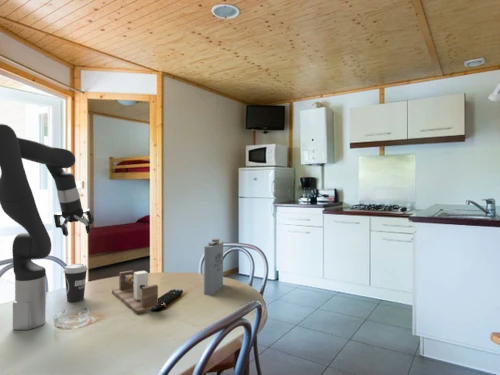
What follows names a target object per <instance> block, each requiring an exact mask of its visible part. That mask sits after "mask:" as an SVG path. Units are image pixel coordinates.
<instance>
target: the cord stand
mask: <svg viewBox="0 0 500 375" xmlns="http://www.w3.org/2000/svg"><path fill="white" fill-rule="evenodd" d="M134 272H135V271H134V270H133V269H131V270H126V271H120V272H119V273H118V274H119V275H118V276H119V280H118V282H119V283H118V285H119V286H118V288H115V289H111V293H112V294H113V296H115V297H116V298H117V299H118V300H119V301H120V302H121V303H123V304H124V305H125V306H126V307H127V308H128V309H130V310H131V311H132V312H134V313H135V314H136V315H141V314H146V313H149V312H152V311H151V309H152V308H153V307H156V306H155V305H158V299H159V285H157V284H151V285H148V286H146V287H144V286H143V285H140V300H136V299H135V298H134ZM141 289H142V296H141ZM161 305H164V306H165V307H166V303H165V302H163V304H161Z"/></svg>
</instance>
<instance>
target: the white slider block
mask: <svg viewBox="0 0 500 375" xmlns="http://www.w3.org/2000/svg"><path fill="white" fill-rule="evenodd" d="M148 274H149V273H148V271H146V270H139V271H134V284H133V286H134V298H135V299H136V300H140V285H143V286H144V287H146V286H149V282H148V281H149V280H148V279H149V278H148ZM141 296H142V289H141Z"/></svg>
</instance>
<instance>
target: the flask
mask: <svg viewBox="0 0 500 375" xmlns="http://www.w3.org/2000/svg"><path fill="white" fill-rule="evenodd" d="M203 249H204V252H203V254H204V256H203V257H204V260H203V262H204V263H203V265H204V267H203V294H204V296H205V295H206V296H211V295H213V294H215V293H217V292H219V290H221V289H222V287H223V286H224V241H223V240H220V238H211V241H210V242H208V243H207V245H204V248H203ZM216 291H217V292H216Z"/></svg>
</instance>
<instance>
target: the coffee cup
mask: <svg viewBox="0 0 500 375" xmlns="http://www.w3.org/2000/svg"><path fill="white" fill-rule="evenodd" d="M88 271H89V269H88V266H87V264H85V263H72V264H67V265H66V266H65V268H64V269H63V273H64V279H65V281H64V282H65V291H66V301H67V302H68V303H77V302H81V301H84V299H85V290H86V279H87V272H88Z"/></svg>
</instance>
